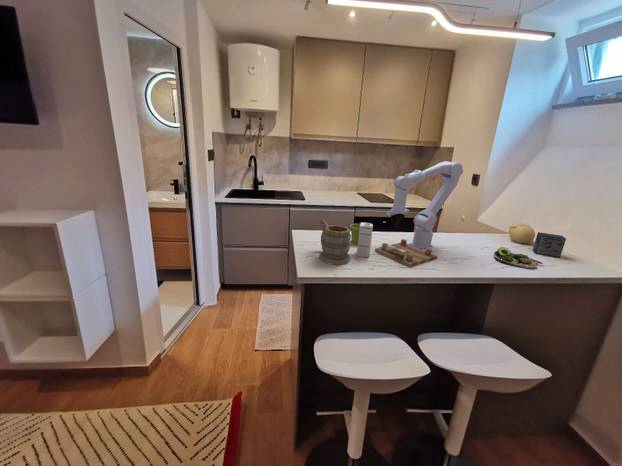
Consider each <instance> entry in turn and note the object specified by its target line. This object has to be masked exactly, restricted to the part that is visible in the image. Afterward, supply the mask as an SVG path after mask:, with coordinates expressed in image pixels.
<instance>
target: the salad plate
mask: <svg viewBox="0 0 622 466" xmlns="http://www.w3.org/2000/svg"><path fill="white" fill-rule="evenodd" d="M493 258H494V259H496V261H497V262H498V261H499V263H501V264H504V265H508V266H513V267H518V268H522V267H523V268H524V269H535V268H537V267H538V266H537V265H538V264H541V265H542V264H543V261H538V260H536V259H533V258H532V257H531V256H530V257H529V256H528V254H527V255H526V254H523V253H515V252H514V253H513V252H511V250H510V249H509V248H507V247H504V246H501V247H499V248H498V249H497V250H495V251H494V252H493ZM501 259H502V260H501ZM517 263H518V264H517ZM519 263H522V264H519ZM526 264H527V265H528V266H527V265H526Z"/></svg>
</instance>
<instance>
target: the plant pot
mask: <svg viewBox="0 0 622 466" xmlns="http://www.w3.org/2000/svg"><path fill="white" fill-rule="evenodd" d="M349 227H350V234H351V243H352V244H355V245H358V239H359V229H360V223H352V224H351V223H350V225H349Z"/></svg>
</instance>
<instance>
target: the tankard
mask: <svg viewBox="0 0 622 466" xmlns="http://www.w3.org/2000/svg"><path fill="white" fill-rule="evenodd" d="M319 224H320V225H322V232H321V235H320V245H321V252H320V254H319V260H321V261H322V262H324V263H325V264H330V265H335V266H340V265H345V264H349V261H350V260H351V255H350V254H348V253H349V251H350V250H351V249H350V247H351V245H350V241H351V240H352V237H351V228H349V227H347V226H345V225H338V224H332V225H331V224H330V225H329V224H328V223H327V221H326V220H325V218H321V219H320V220H319Z"/></svg>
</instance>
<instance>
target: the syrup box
mask: <svg viewBox="0 0 622 466" xmlns="http://www.w3.org/2000/svg"><path fill="white" fill-rule="evenodd" d="M359 224H360V229H359V239H358V244H357V252H356V256H357V257H358V256H359V257H363V258H364V257H365V258H369V257H370V256H371V255H370V254H371V246H372V239H373V238H372V237H373V236H372V235H373V226H374V225H373V223H370V222H360V223H359Z"/></svg>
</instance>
